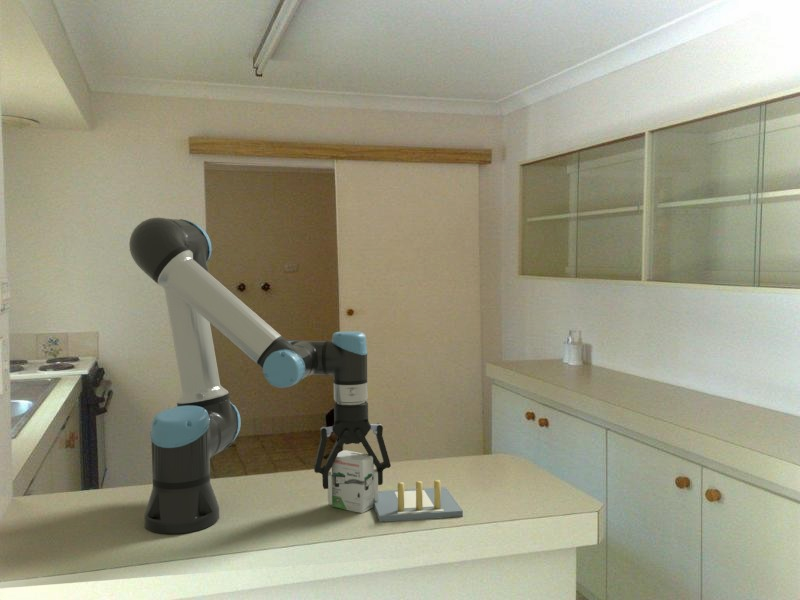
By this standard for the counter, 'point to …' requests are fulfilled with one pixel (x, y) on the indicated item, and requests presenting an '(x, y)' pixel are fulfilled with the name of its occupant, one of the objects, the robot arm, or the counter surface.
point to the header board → (416, 503)
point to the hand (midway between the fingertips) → (353, 500)
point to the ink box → (352, 481)
